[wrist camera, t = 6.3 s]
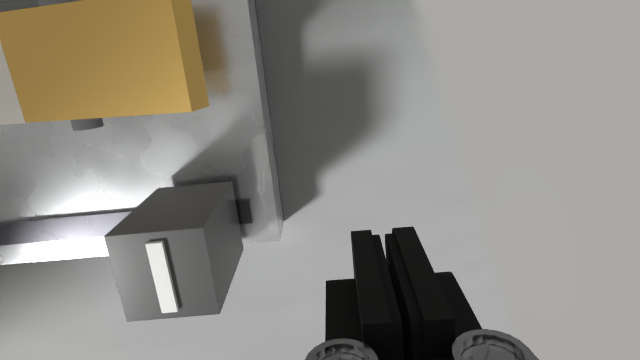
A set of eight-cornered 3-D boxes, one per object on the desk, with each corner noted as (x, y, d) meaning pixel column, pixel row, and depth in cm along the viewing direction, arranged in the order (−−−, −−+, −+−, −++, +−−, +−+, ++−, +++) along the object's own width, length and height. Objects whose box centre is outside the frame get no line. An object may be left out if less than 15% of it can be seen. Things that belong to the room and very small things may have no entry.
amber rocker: (211, 117, 15) (194, 124, 13) (4, 130, 17) (-27, 137, 16) (187, -23, 13) (165, -28, 12) (-35, 10, 15) (-71, 9, 14)
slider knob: (243, 248, 18) (218, 316, 13) (172, 255, 18) (124, 324, 13) (232, 181, 17) (201, 230, 12) (158, 187, 17) (101, 238, 12)
